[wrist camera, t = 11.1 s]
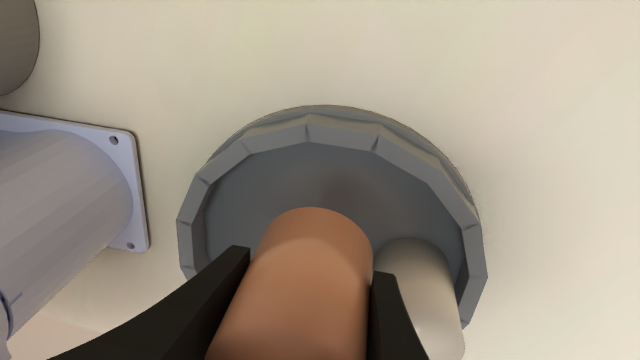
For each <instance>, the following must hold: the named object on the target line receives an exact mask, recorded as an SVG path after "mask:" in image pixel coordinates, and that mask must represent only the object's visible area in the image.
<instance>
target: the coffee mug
mask: <svg viewBox="0 0 640 360" xmlns="http://www.w3.org/2000/svg"><path fill="white" fill-rule="evenodd" d="M38 48H39V25H38V19H37V13H36V9H35V5H34V1H33V0H0V96H2V95H5V94H8V93H10V92H12V91H14V90H15V89H17V88H18V87H19V86H20V85H22V84H23V83H24V81H25V80H26V79H27V78H28V77H29V75H30V74H31V72H32V70H33V67H34V64H35V61H36V58H37V55H38Z"/></svg>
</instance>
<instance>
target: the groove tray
mask: <svg viewBox="0 0 640 360" xmlns="http://www.w3.org/2000/svg"><path fill="white" fill-rule="evenodd" d="M302 207H318V208H324V209H329V210H332V211H335V212H337V213H340V214H342V215H344V216H345V217H347V218H349V219H350V220H352V221H353V222H354V223H355V224H357V225H358V226H359V227H360V228H361V230H362V231H363V232H364V233H365V235H366V237H367V238H368V240H369V242H370V245H371V248H372V252H373V260H374V257H375V255H376V253H377V252H378V251H379V250H380V249H381V248H382V247H383V246H384V245H386V244H387V243H389V242H391V241H394V240H397V239H402V238H418V239H422V240H426V241H428V242H431V243H433V244H434V245H436V246H437V247H439V248H440V249H441V250H442V251H443V252H444V254H445V255H446V257H447V259H448V262H449V266H450V271H451V277H452V282H453V287H454V292H455V297H456V302H457V307H458V312H459V317H460V322H461V328H462V330H463V329H464V328H465V327H466V326H467V325H468V324H469V323H470V321H471V318H472V316H473V313H474V311H475V308H476V306H477V303H478V301H479V298H480V296H481V293H482V291H483V288H484V286H485V283H486V281H487V278H488V275H487V268H486V261H485V254H484V247H483V238H482V229H481V225H480V220H479V216H478V213H477V210H476V207H475V204H474V202H473V199H472V197H471V194H470V192H469V190H468V187H467V185H466V184H465V182H464V180H463V179H462V177H461V175H460V174H459V172H458V171H457V169H456V168H455V167H454V166H453V164H452V163H451V162H450V161H449V160H448V158H447V157H446V156H445V155H444V154H443V153H442V152H441V151H440V150H439V149H437V148H436V147H435V146H434V145H433V144H432V143H431V142H430V141H428V140H427V139H425V138H424V137H423V136H421V135H420V134H418V133H417V132H415V131H414V130H412V129H411V128H409V127H407V126H405V125H403V124H401V123H399V122H397V121H395V120H393V119H391V118H388V117H385V116H382V115H379V114H376V113H374V112H371V111H366V110H361V109H357V108H352V107H346V106H334V105H313V106H301V107H296V108H290V109H285V110H282V111H278V112H275V113H272V114H269V115H266V116H264V117H262V118H260V119H258V120H256V121H254V122H252V123H250V124H248V125H246V126H245V127H243V128H242V129H241V130H239V131H238V132H236V133H235V134H233V135H232V136H231V137H230V138H229V139H228V140H227V141H226V142H225V143H224V144H223V145H222V146H221V147H220V148H219V149H218V150H217V151H216V152H215V153H214V154H213V155H212V156H211V157H210V159H209V160H208V161H207V163H206V164H205V165H204V166H203V167H202V168H201V169H200V170H199V171H198V172H197V173H196V174H195V176H194V179H193V181H192V183H191V186H190V188H189V190H188V193H187V195H186V198H185V200H184V202H183V205H182V207H181V209H180V212H179V214H178V216H177V219H176V226H177V237H178V249H179V260H180V268H181V269H182V271H183V273H184V275H185V277H186V279H187V280H190V279H191V278H192V277H193V276H195V275H196V274H197V273H199V272H200V271H201V270H202V269H204V268H205V267H206V266H207V265H208V264H210V263H211V262H212V261H213V260H214V259H216V258H217V257H218V256H219V255H220V254H221V253H223V252H224V251H225V250H226V249H227V248H228V247H230V246H231V245H238V246H243V247H249V248H250V261H251V259H252V257H253V255H254V253H255V251H256V249H257V247H258V245H259V243H260V241H261V239H262V237H263V235H264V232H265V230H266V229H267V227H268V226H269V224H270V223H271V222H272V221H273V220H274V219H275V218H276V217H278V216H279V215H281V214H283V213H284V212H287V211H289V210H292V209H296V208H302ZM372 266H373V265H372ZM371 280H372V279H371Z"/></svg>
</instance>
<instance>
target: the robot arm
mask: <svg viewBox="0 0 640 360" xmlns="http://www.w3.org/2000/svg"><path fill="white" fill-rule="evenodd" d="M114 136H115V137H116V138H117V139H118V141H119V142H117V141H116V140H115V139H114ZM132 243H133V244H134V245H133V244H132ZM105 247H111V248H116V249H121V250H126V251H131V252H136V253H145V252H146V251H147V250H148V248H149V240H148V232H147V225H146V217H145V209H144V202H143V194H142V187H141V179H140V172H139V164H138V157H137V149H136V142H135V138H134V136H133V135H132V134H131V133H130V132H128V131H124V130H118V129H112V128H106V127H99V126H93V125H87V124H81V123H75V122H69V121H63V120H57V119H51V118H44V117H38V116H32V115H26V114H20V113H14V112H8V111H2V110H0V360H10V359H11V354H10V353H9V351H8V349H7V346H6V341H7V340H8V339H9V338H11V336H13V335H14V334H15V333H16V332H17V331H18V330H19V329H20V328H21V327H22V326H23V325H24V324H25V323H26V322H27V321H28V320H30V318H32V317H33V316H34V315H35V314H36V313H37V312H38V311H39V310H40V309H41V308H42V307H43V306H44V305H45V304H46V303H47V302H48V301H50V300H51V299H52V298H53V297H54V296H55V295H56V294H57V293H58V292H59V291H60V290H61V289H62V288H63V287H64V286H65V285H66V284H67V283H68V282H70V281H71V280H72V279H73V278H74V277H75V276H76V275H77V274H78V273H79V272H80V271H81V270H82V269H83V268H84V267H85V266H86V265H87V264H88V263H89V262H91V261H92V260H93V259H94V258H95V257H96V256H97V255H98V254H99V253H100V252H101V251H102V250H103V249H104V248H105ZM249 263H250V248H249V247H243V246H238V245H231V246H230V247H228V248H227V249H226V250H225V251H224V252H223V253H221V254H220V255H219V256H218V257H217V258H216V259H214V260H213V261H212V262H211V263H210V264H208V265H207V266H206V267H205V268H204V269H202V270H201V271H200V272H199V273H197V274H196V275H195V276H193V277H192V278H191V279H190V280H188V281H187V282H186V283H185V284H183V285H182V286H181V287H179V288H178V289H176V290H175V291H174V292H172V293H171V294H169V295H168V296H167V297H165V298H164V299H162V300H161V301H159V302H158V303H156V304H155V305H153V306H152V307H150V308H149V309H147V310H146V311H144V312H142V313H141V314H139V315H137V316H136V317H134V318H132V319H131V320H129V321H127V322H125V323H124V324H122V325H120V326H118V327H116V328H114V329H112V330H110V331H108V332H106V333H104V334H103V335H101V336H99V337H97V338H95V339H93V340H91V341H89V342H86V343H84V344H82V345H80V346H78V347H76V348H73V349H71V350H69V351H66V352H64V353H62V354H59V355H57V356H55V357H52V358H50V359H47V360H204V359H205V355H206V353H207V350H208V348H209V346H210V344H211V342H212V340H213V338H214V336H215V334H216V332H217V330H218V328H219V325H220V323H221V321H222V319H223V317H224V315H225V313H226V311H227V309H228V307H229V305H230V303H231V301H232V299H233V297H234V294H235V292H236V290H237V288H238V286H239V284H240V282H241V280H242V278H243V276H244V274H245V272H246V270H247V268H248V266H249ZM366 360H430V359H429V357H428V355H427V353H426V351H425V349H424V347H423V345H422V343H421V341H420V339H419V337H418V335H417V333H416V331H415V328H414V326H413V324H412V321H411V319H410V317H409V314H408V312H407V309H406V307H405V304H404V301H403V298H402V296H401V293H400V289H399V286H398V283H397V279H396V277H395V275H394V274H391V273H386V272H380V271H375V270H374V274H373V279H372V283H371V291H370V306H369V323H368V337H367V352H366Z"/></svg>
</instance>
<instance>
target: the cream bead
mask: <svg viewBox="0 0 640 360" xmlns="http://www.w3.org/2000/svg"><path fill="white" fill-rule="evenodd" d="M374 270H375V271H380V272H386V273H391V274H394V275H395V277H396V279H397V283H398V286H399V289H400V293H401V296H402V298H403V301H404V304H405V307H406V309H407V312H408V314H409V317H410V319H411V321H412V324H413V326H414V328H415V331H416V333H417V335H418V337H419V339H420V341H421V343H422V345H423V347H424V349H425V351H426V353H427V355H428V357H429V359H430V360H461V359H462V357H463V355H464V351H465V343H464V338H463V333H462V328H461V322H460V317H459V312H458V307H457V302H456V297H455V292H454V287H453V282H452V277H451V271H450V266H449V262H448V259H447V257H446V255H445V254H444V252H443V251H442V250H441V249H440V248H439V247H437V246H436V245H434V244H433V243H431V242H428V241H426V240H422V239H418V238H402V239H397V240H394V241H391V242H389V243H387V244H386V245H384V246H383V247H382V248H381V249H380V250H379V251H378V252H377V253H376V255H375V257H374V260H373V266H372V279H373V274H374ZM371 283H372V280H371Z"/></svg>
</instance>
